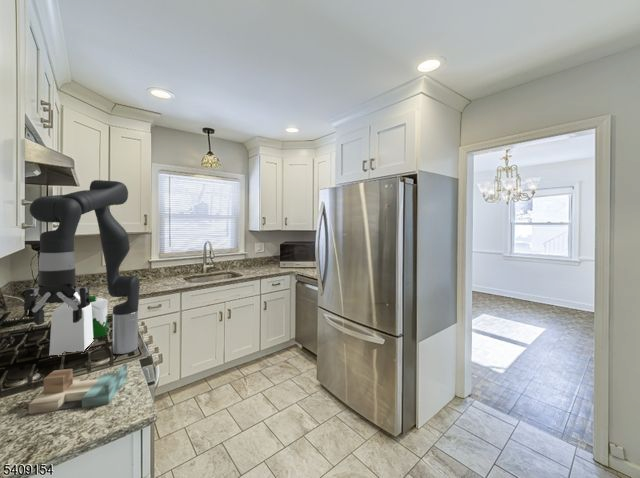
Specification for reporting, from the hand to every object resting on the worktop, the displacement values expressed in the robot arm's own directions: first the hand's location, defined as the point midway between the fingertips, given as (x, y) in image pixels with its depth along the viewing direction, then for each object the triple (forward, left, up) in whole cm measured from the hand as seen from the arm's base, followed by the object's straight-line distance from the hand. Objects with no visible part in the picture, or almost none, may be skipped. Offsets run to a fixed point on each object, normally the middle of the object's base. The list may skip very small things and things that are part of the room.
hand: (58, 323), depth 79 cm
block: (-9, -5, -25) cm, 27 cm away
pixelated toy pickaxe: (-9, +1, -28) cm, 29 cm away
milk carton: (-63, -19, -28) cm, 72 cm away
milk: (-48, -21, -28) cm, 59 cm away
